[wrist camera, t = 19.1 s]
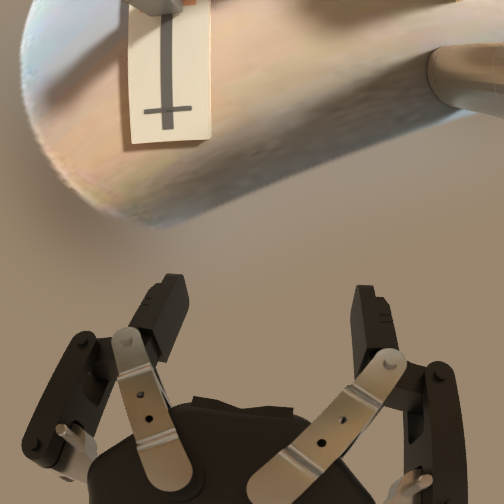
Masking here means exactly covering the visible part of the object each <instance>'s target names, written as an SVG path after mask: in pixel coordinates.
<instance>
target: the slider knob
mask: <svg viewBox="0 0 504 504" xmlns="http://www.w3.org/2000/svg"><path fill="white" fill-rule="evenodd" d="M123 1H124V2H126V3H128V4H130V5H131V6H133V7H135V8H136V9H138V10H140V11H141V12H143V13H145V14H146V15H148V16H150V17H152V16H158V15H165V14H172V13H180V12H183V0H123Z"/></svg>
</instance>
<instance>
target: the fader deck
mask: <svg viewBox="0 0 504 504" xmlns="http://www.w3.org/2000/svg"><path fill="white" fill-rule="evenodd" d="M210 53H211V0H183V12H180V13H172V14H165V15H158V16H152V17H150V16H148V15H146V14H145V13H143V12H141V11H140V10H138V9H136V8H135V7H133V6H131V5H130V4H129V20H128V88H129V110H130V127H131V140H132V144H139V143H151V142H164V141H181V140H205V139H210V138H211V71H210Z"/></svg>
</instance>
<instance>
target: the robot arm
mask: <svg viewBox="0 0 504 504" xmlns="http://www.w3.org/2000/svg"><path fill="white" fill-rule="evenodd" d="M427 76H428V80H429V83H430V86H431V88H432V90H433V92H434V93H435V95H436V96H437V97H438V98H439V99H440V100H441V101H442V102H443V103H445V104H446V105H448V106H452V107H456V108H461V109H465V110H469V111H474V112H478V113H482V114H486V115H490V116H494V117H498V118H501V119H504V42H497V43H477V44H464V45H453V46H445V47H440V48H438V49H436V50H435V51H434V52H433V53H432V54H431V56H430V58H429V61H428V65H427ZM188 308H189V297H188V292H187V288H186V284H185V280H184V276H183V275H181V274H169V273H167V274H166V275H165V277H164V279H163V280H162V282H161V283H156V284H155V285H154V286H153V287H151V288H150V289H149V290H148V292H147V294H146V295H145V298H144V299H143V301H142V302H141V305H140V306H139V308H138V309H137V311H136V313H135V315H134V316H133V318H132V320H131V322H130V324H129V325H128V327H124V328H122V329H120V330H118V331H117V332H116V333H115V334H114V335H113V337H108V338H98V339H97V338H96V336H95V335H94V333H92V332H91V331H83V332H80V333H78V334H76V335H75V336H74V337H73V338H72V340H71V342H70V344H69V345H68V347H67V349H66V351H65V352H64V354H63V356H62V358H61V360H60V362H59V364H58V365H57V367H56V369H55V371H54V373H53V375H52V377H51V379H50V381H49V383H48V385H47V387H46V389H45V391H44V393H43V395H42V397H41V399H40V401H39V403H38V405H37V407H36V410H35V412H34V414H33V416H32V418H31V421H30V423H29V425H28V427H27V430H26V432H25V434H24V437H23V439H22V445H21V446H22V451H23V453H24V455H25V456H26V457H27V458H29V459H30V460H32V461H33V462H35V463H36V464H38V466H40V467H41V468H43V469H45V470H46V471H48V472H50V473H51V474H53V475H55V476H58V477H60V478H62V479H63V480H66V481H68V482H72V481H77V482H79V483H81V484H83V485H86V486H88V492H89V504H376V503H375V501H374V499H373V498H372V496H371V495H370V494H369V493H368V491H367V490H366V489H365V488H364V487H363V485H362V484H361V483H360V482H359V481H358V479H357V478H356V477H355V476H354V474H353V473H352V472H351V471H350V469H349V468H348V467H347V465H346V464H345V463H344V462H343V460H342V459H343V458H344V456H345V455H346V454H347V453H348V452H349V451H350V449H351V448H352V447H353V445H355V443H356V442H357V441H358V439H359V438H360V437H361V435H362V434H363V433H364V432H365V430H366V429H367V428H368V427H369V425H370V424H371V423H372V421H373V420H374V419H375V417H376V416H377V415H378V413H379V412H380V411H381V409H382V408H383V407H384V406H386V407H389V408H393V409H397V410H401V411H403V423H404V424H403V425H404V475H403V476H402V477H401V478H399V479H398V480H396V481H395V482H394V483H393V484H392V485H391V487H390V489H389V492H388V496H387V498H386V500H385V501H384V503H383V504H468V482H467V461H466V449H465V438H464V430H463V422H462V414H461V408H460V402H459V396H458V390H457V384H456V379H455V375H454V371H453V369H452V368H451V367H450V366H449V365H448V364H446V363H444V362H441V361H435V362H432V363H430V364H429V365H428V366H427V367H424V366H420V365H416V364H413V363H410V362H409V361H407V360H406V358H405V356H404V355H403V354H402V353H401V352H400V351H399V348H398V342H397V337H396V333H395V328H394V324H393V319H392V316H391V310H390V305H389V304H388V303H387V301H386V300H385V299H384V297H376V296H375V291H374V287H373V286H371V285H357V286H356V289H355V294H354V299H353V303H352V308H351V315H350V323H351V334H352V346H353V361H354V377H355V381H354V382H353V383H352V384H351V385H350V386H349V385H348V386H346V387H345V388H344V389H343V390H342V391H341V393H340V394H339V395H338V396H337V397H336V398H335V399H334V400H333V401H332V402H331V404H330V405H329V406H328V407H327V408H326V409H325V410H324V411H323V412H322V413H321V414H320V415H319V416H318V417H317V418H316V419H315V420H314V421H313V422H312V423H310V422H309V421H308V420H306V419H304V418H302V417H300V416H297V415H294V414H293V408H288V407H275V406H263V407H255V408H246V409H240V408H237V407H234V406H232V405H229V404H227V403H224V402H221V401H219V400H215V399H209V398H202V397H196V396H193V400H192V402H191V403H184V404H180V405H177V406H174V407H172V405H171V403H170V401H169V398H168V396H167V394H166V391H165V389H164V386H163V384H162V381H161V379H160V376H159V374H158V371H157V369H156V365H157V363H158V361H159V362H165V363H166V362H167V360H168V357H169V355H170V352H171V350H172V348H173V345H174V343H175V340H176V338H177V335H178V333H179V331H180V328H181V326H182V323H183V321H184V319H185V316H186V314H187V311H188ZM115 381H118V384H119V388H120V392H121V395H122V399H123V402H124V406H125V409H126V412H127V415H128V418H129V422H130V425H131V428H132V431H133V434H131V435H130V436H128V437H127V438H125V439H124V440H122V441H121V442H119V443H118V444H116V445H115V446H113V447H111V448H110V449H108V450H107V451H105V452H104V453H102V454H101V455H99V456H98V457H97V443H96V441H95V439H94V435H95V433H96V430H97V427H98V425H99V422H100V419H101V416H102V414H103V411H104V409H105V406H106V404H107V401H108V398H109V396H110V393H111V391H112V388H113V386H114V383H115ZM96 457H97V458H96Z"/></svg>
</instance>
